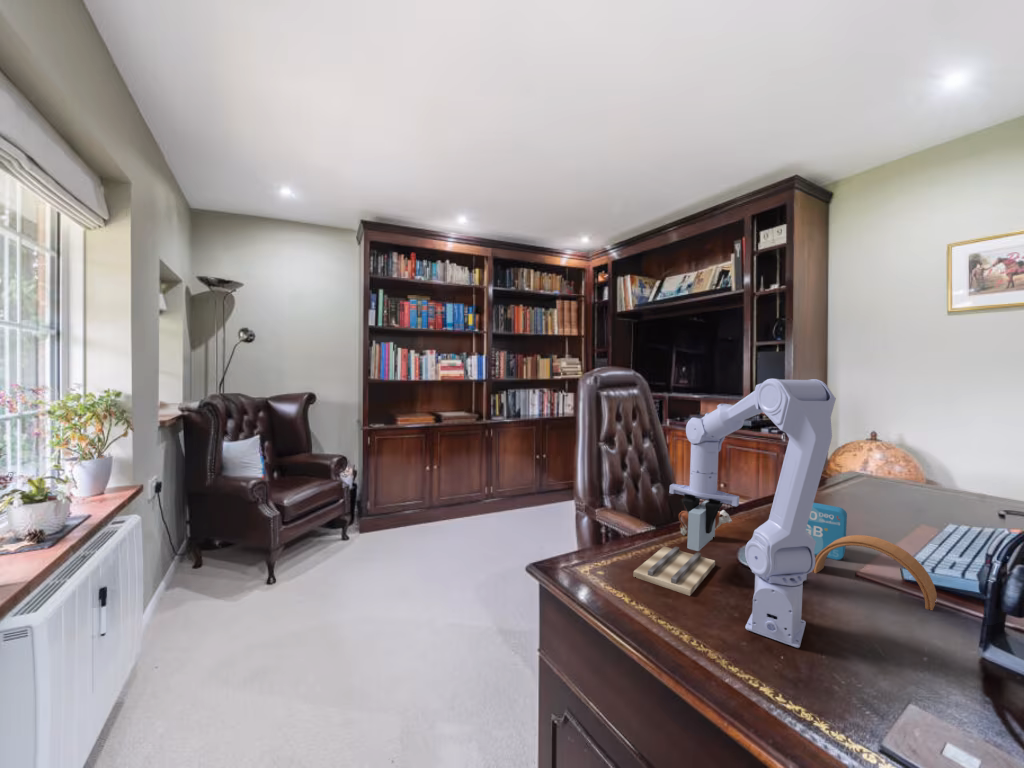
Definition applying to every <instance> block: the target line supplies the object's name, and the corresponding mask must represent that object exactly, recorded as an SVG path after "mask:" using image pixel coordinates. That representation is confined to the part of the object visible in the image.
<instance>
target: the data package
mask: <svg viewBox="0 0 1024 768" xmlns="http://www.w3.org/2000/svg"><path fill="white" fill-rule="evenodd" d="M847 524H848V512H847V511H846V510H845V509H844V508H843V507H839V506H834V505H830V504H829V505H828V504H824V503H817V502H814V503H813V506H812V510H811V513H810V517H809V520H808V524H807V527H806V531H807V532H808V533H809V534H810V535H811V536H812V537H813V539H814V540H815V541H816V544H815V548H814V554H815V556H817V555H818V554H819V552H820V551H821V550H823V549H824V548H825V547H827V546H828V545H829V544H831V543H832V542H834V541H835V540H837V539H840V538H842V537H846V536H847ZM846 547H847V546H842V547H838V548H835V549H833V550H831V551H830V553H829V554H828V556H827V558H826V559H831V560H836V561H839V560H842V559H843V558H844V557H845V552H846Z"/></svg>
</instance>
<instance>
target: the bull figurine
mask: <svg viewBox="0 0 1024 768" xmlns="http://www.w3.org/2000/svg"><path fill="white" fill-rule="evenodd" d="M678 521H679V522H680V525H679V529H680V534H681V535H682V536H686V534H687V535H688V512H687V510H681V512H679V513H678ZM726 523H728V524H731V523H733V520H732V518H731V517H730V514H729V513H728V512H727V511H726V510H725V509H722V510H721V511H720V510H719V511H718V513H717V515H716V518H715V530H717V529H718V528H720V526H722V524H726ZM714 538H716V535H715V536H714ZM710 541H713V538H712V539H711V540H710Z"/></svg>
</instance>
